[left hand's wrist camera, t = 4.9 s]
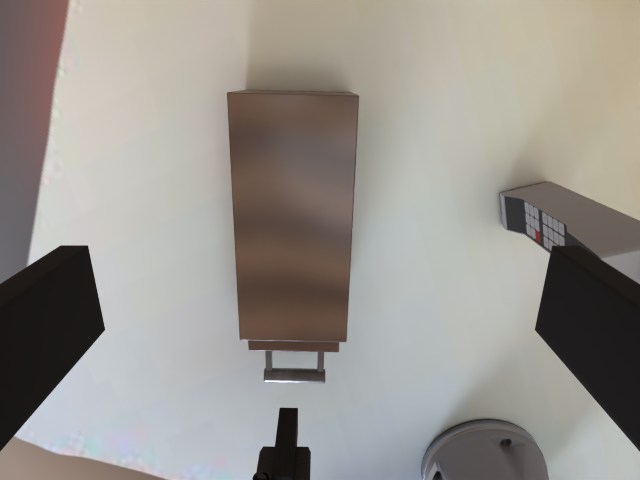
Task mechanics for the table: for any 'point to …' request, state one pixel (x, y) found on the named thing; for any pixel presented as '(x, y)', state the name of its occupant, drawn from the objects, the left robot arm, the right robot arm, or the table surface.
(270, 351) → the drawer
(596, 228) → the vintage mobile phone
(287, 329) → the cabinet
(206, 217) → the table surface
